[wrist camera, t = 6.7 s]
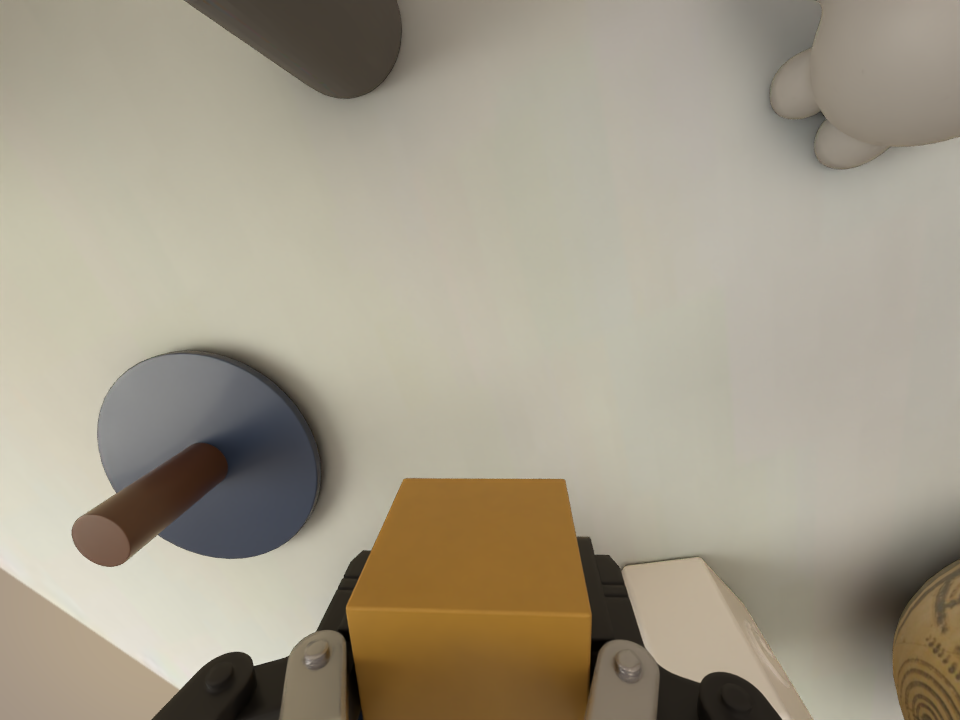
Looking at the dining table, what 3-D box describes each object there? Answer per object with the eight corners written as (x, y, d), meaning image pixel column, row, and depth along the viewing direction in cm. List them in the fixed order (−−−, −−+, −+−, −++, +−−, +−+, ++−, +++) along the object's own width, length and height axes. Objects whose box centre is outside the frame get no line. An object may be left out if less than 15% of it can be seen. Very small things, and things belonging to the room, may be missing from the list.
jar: (766, 622, 28) (941, 898, 16) (658, 682, 30) (746, 963, 18) (679, 528, 26) (802, 755, 15) (572, 596, 28) (609, 843, 17)
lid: (145, 544, 30) (14, 653, 22) (87, 350, 27) (-95, 400, 19) (339, 548, 29) (272, 666, 21) (307, 344, 25) (211, 396, 17)
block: (416, 606, 15) (371, 778, 10) (403, 477, 14) (344, 607, 9) (563, 610, 15) (586, 791, 10) (565, 477, 13) (592, 615, 9)
